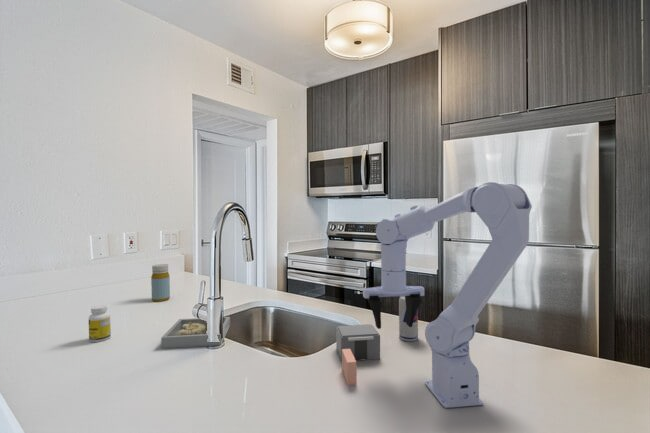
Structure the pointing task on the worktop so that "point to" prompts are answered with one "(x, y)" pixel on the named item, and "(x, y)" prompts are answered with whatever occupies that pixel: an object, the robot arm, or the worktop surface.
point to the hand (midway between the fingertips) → (393, 326)
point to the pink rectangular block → (349, 367)
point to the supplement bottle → (99, 324)
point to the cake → (192, 329)
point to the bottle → (160, 283)
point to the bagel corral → (190, 340)
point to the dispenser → (358, 341)
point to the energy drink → (404, 330)
